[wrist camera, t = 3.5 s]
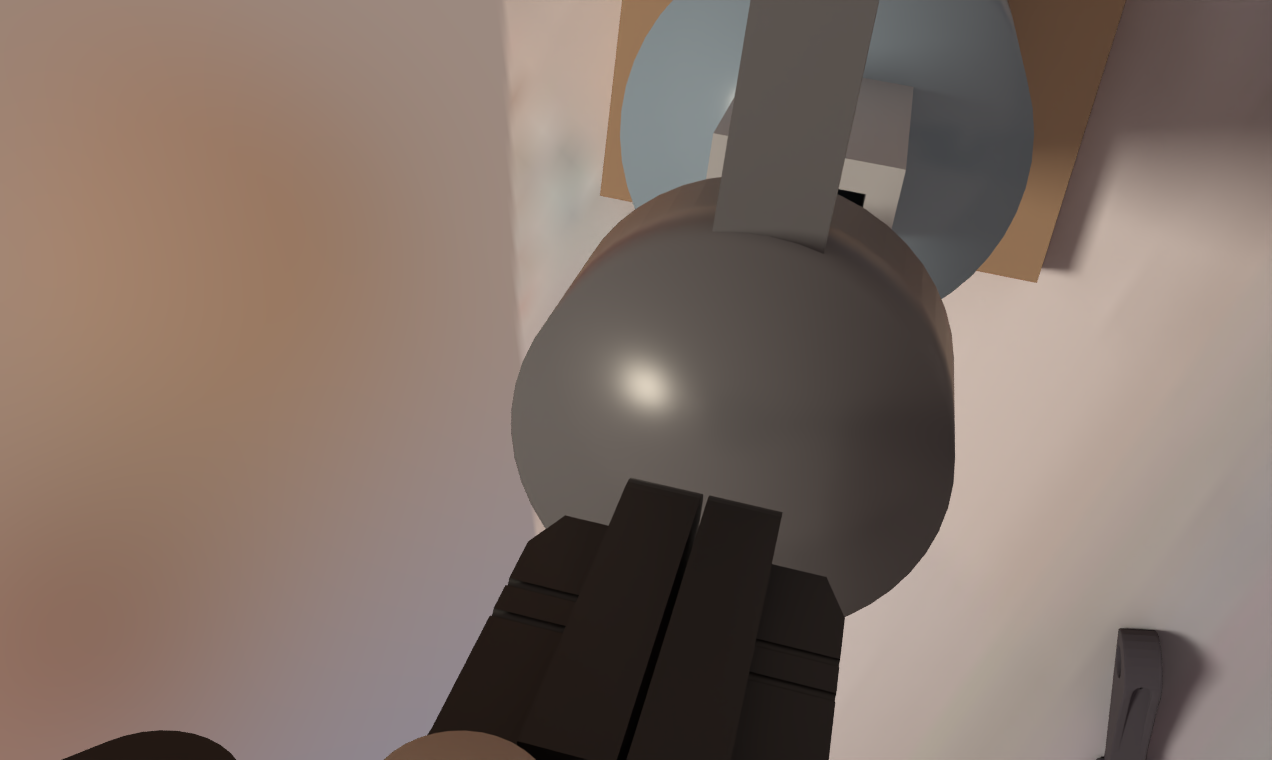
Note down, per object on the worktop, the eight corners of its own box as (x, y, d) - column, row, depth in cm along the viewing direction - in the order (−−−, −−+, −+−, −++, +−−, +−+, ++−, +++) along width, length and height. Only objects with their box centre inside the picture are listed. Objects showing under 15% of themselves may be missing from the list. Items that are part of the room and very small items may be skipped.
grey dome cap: (1053, -135, 17) (1120, -53, 10) (911, 388, 21) (895, 676, 14) (700, -189, 17) (556, -144, 11) (630, 327, 21) (497, 578, 15)
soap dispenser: (1187, -220, 31) (1453, -168, 15) (1034, 267, 38) (1100, 672, 22) (664, -295, 33) (387, -322, 17) (608, 183, 40) (373, 498, 24)
